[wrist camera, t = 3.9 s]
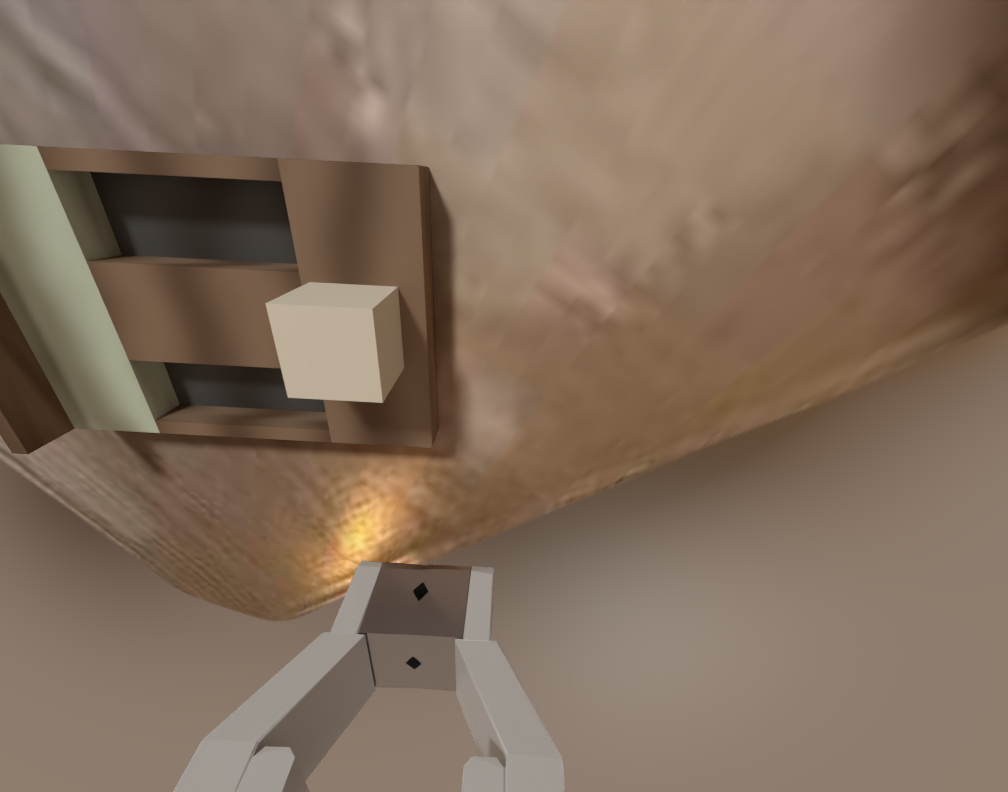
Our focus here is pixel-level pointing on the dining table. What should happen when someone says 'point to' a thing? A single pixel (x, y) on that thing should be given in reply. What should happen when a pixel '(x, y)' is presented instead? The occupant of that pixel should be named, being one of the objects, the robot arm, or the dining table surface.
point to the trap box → (199, 292)
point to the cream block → (338, 341)
